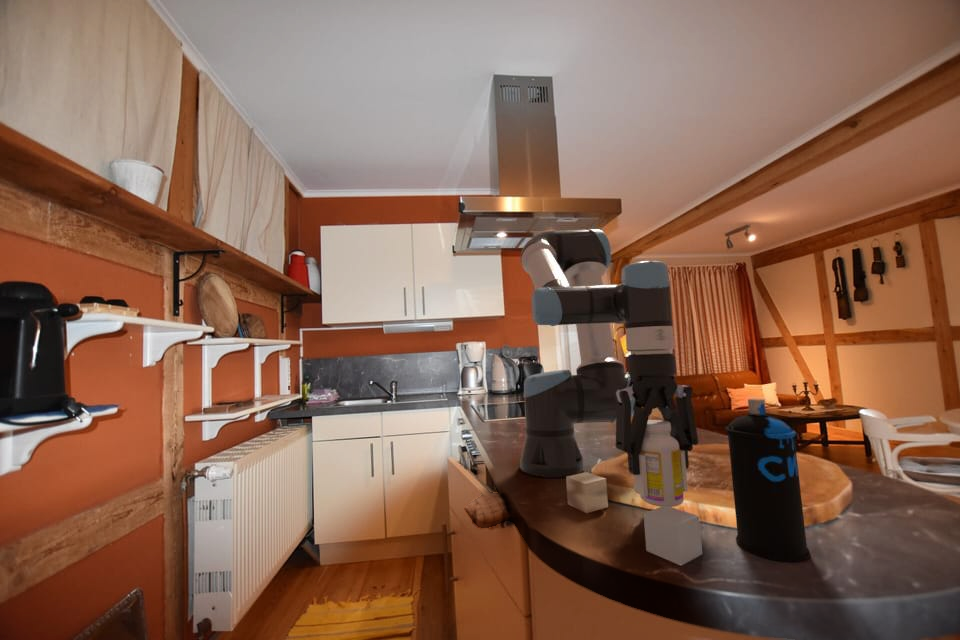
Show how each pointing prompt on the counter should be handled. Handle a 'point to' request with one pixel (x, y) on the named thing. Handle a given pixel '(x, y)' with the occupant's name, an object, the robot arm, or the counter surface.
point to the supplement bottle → (662, 465)
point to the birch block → (587, 492)
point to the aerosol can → (766, 486)
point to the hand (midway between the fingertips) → (660, 491)
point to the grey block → (673, 534)
